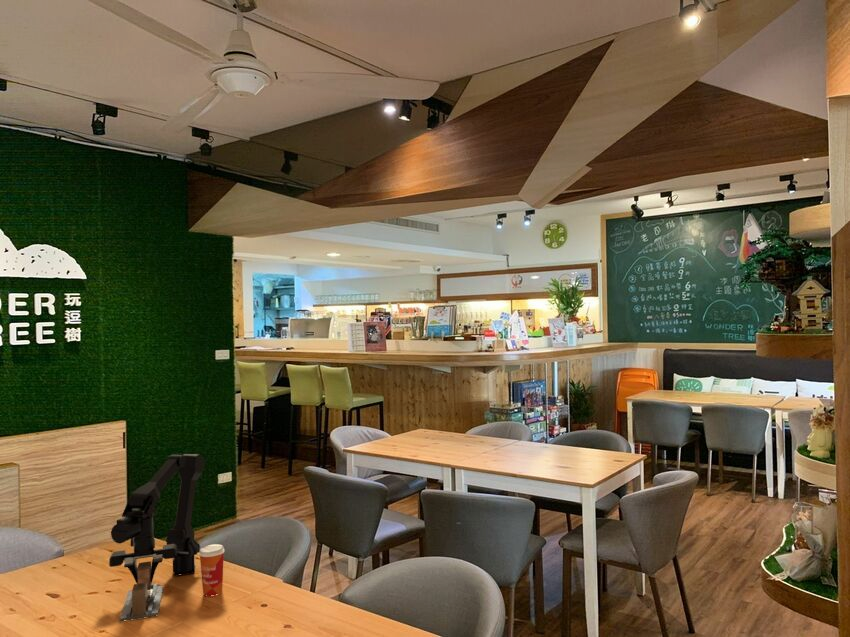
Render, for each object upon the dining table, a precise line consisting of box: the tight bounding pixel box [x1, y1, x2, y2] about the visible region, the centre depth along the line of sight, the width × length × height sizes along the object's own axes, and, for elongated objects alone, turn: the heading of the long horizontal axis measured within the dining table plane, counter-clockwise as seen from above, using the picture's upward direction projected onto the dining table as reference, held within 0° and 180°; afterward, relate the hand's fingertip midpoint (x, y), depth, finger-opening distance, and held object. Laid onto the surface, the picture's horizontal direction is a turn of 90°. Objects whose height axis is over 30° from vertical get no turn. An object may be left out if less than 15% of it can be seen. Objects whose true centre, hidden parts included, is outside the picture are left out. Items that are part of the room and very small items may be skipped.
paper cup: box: [198, 543, 226, 596], centre depth 192 cm, size 8×8×14 cm
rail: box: [119, 582, 164, 622], centre depth 185 cm, size 10×20×8 cm, turn 19°
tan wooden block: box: [136, 560, 153, 590], centre depth 190 cm, size 4×6×7 cm, turn 19°
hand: (144, 582), depth 191 cm, fingers closed on tan wooden block, 3 cm apart
